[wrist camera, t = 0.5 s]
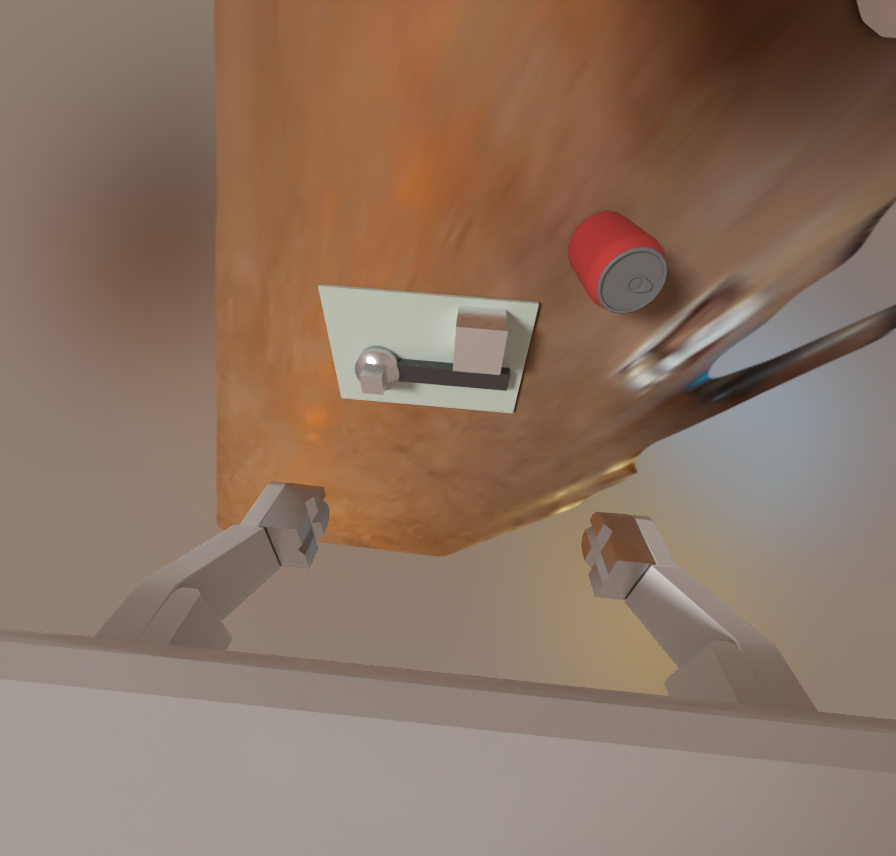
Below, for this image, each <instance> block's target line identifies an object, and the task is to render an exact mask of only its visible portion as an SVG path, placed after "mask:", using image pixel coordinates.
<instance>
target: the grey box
mask: <svg viewBox="0 0 896 856" xmlns="http://www.w3.org/2000/svg"><path fill="white" fill-rule="evenodd" d="M507 335H508V325H507V316H506V309H499V308H487V307H474V306H462V305H459V307H458V315H457V322H456V333H455V347H454V361H453V371H459V372H471V373H482V374H494V375H500V372H501V367H502V362H503V356H504V351H505V346H506V340H507Z"/></svg>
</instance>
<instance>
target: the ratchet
mask: <svg viewBox="0 0 896 856" xmlns="http://www.w3.org/2000/svg"><path fill="white" fill-rule="evenodd" d="M355 374H356V376H357V378H358V380H359V381H360V382H361V388H362V393H366V394H378V395H384V392H385V391H386V390H390V389H392V388H393V387H394V386H395V385H396V384H397V382H398V381H400V382H411V383H423V384H434V385H445V386H457V387H468V388H480V389H491V390H502V391H507V388H508V384H509V379H510V368H505V367H501V372H500V375H494V374H482V373H471V372H459V371H453V363H447V362H436V361H424V360H412V359H401V358H400V359H399V358H398V356H397V355H396V354H395V353H394V352H393V351H392V350H390V349H388V348H386V347H383V346H370V347H367V348H365V349H364V350H363V351H362V352H361V354H360V356H359V358H358V360H357V361H356V364H355Z"/></svg>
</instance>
